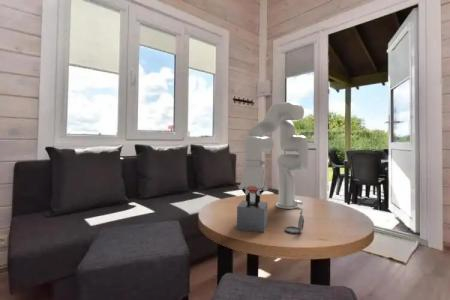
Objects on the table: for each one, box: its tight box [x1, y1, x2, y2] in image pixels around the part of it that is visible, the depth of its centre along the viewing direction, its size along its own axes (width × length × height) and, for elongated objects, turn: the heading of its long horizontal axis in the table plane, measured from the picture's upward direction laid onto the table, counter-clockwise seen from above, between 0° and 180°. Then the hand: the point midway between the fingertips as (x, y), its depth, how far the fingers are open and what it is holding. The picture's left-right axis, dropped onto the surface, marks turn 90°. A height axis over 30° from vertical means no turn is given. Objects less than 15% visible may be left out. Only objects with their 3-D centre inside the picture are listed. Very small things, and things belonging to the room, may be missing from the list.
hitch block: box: [236, 199, 268, 234], centre depth 115 cm, size 12×12×10 cm
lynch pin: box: [247, 187, 258, 206], centre depth 115 cm, size 6×6×12 cm
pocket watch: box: [284, 209, 305, 234], centre depth 109 cm, size 8×8×10 cm
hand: (252, 203), depth 115 cm, fingers closed on lynch pin, 3 cm apart
